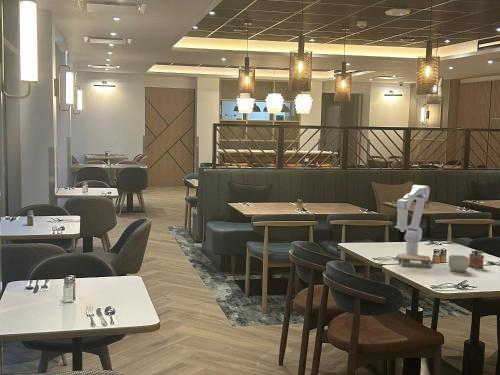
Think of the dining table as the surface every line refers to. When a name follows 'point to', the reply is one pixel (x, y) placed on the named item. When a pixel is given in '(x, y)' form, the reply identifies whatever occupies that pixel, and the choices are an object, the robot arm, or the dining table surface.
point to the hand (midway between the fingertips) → (400, 241)
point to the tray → (407, 264)
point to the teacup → (458, 263)
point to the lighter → (476, 259)
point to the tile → (415, 262)
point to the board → (413, 257)
